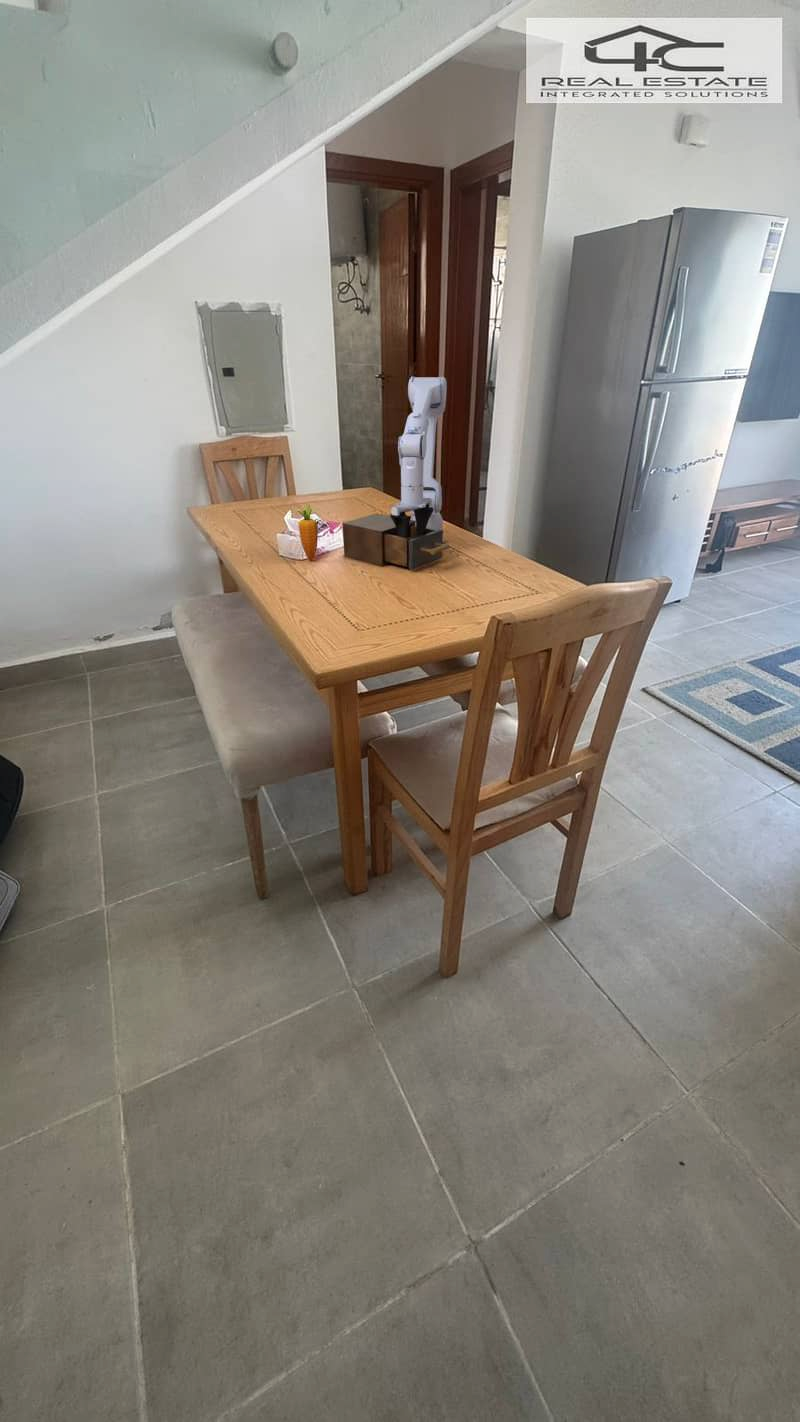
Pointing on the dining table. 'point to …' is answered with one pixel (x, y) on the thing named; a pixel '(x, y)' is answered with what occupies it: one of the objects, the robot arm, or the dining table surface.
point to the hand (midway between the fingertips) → (412, 537)
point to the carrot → (308, 533)
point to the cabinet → (368, 538)
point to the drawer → (414, 547)
